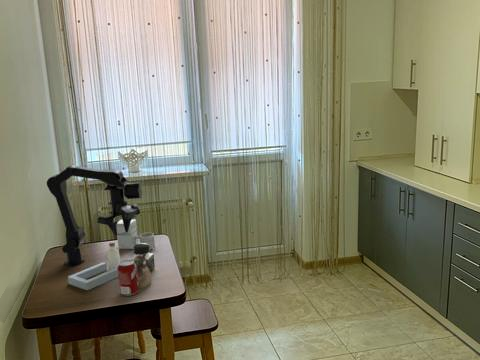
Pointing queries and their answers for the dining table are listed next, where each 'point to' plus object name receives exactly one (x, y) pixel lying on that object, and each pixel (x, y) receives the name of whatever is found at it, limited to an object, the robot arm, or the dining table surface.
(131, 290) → the soda can
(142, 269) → the figurine
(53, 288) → the dining table surface
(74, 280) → the u rest
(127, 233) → the supplement box
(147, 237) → the mug
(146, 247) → the medicine bottle
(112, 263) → the white bottle
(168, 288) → the dining table surface
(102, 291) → the dining table surface
